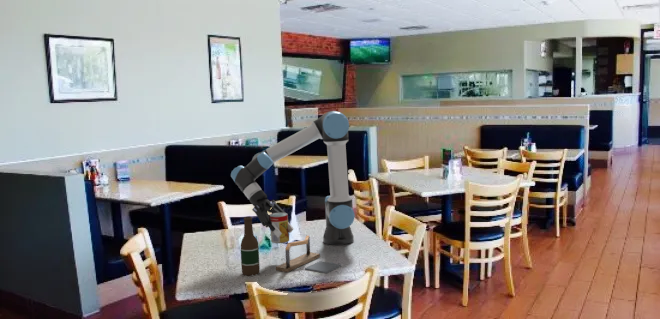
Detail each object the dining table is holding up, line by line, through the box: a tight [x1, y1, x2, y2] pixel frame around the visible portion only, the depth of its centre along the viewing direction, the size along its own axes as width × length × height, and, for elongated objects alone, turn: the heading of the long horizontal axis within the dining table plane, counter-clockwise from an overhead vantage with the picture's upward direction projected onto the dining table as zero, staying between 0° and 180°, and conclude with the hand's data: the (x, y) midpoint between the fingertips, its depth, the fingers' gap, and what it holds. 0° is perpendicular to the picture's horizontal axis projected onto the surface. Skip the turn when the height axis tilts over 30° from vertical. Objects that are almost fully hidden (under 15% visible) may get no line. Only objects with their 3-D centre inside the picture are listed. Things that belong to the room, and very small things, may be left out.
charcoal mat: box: [304, 260, 342, 274], centre depth 242 cm, size 11×11×1 cm
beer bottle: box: [240, 215, 261, 277], centre depth 237 cm, size 8×8×24 cm
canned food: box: [269, 212, 290, 244], centre depth 252 cm, size 8×8×12 cm
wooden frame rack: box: [275, 235, 321, 273], centre depth 249 cm, size 24×6×10 cm, turn 146°
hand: (285, 233), depth 251 cm, fingers closed on canned food, 8 cm apart
